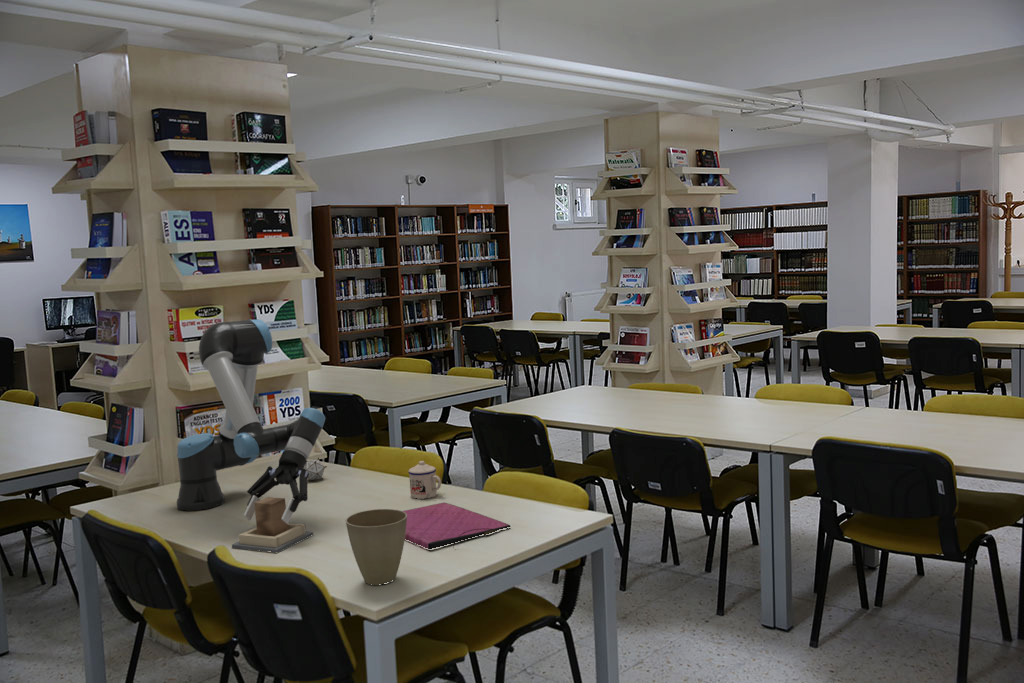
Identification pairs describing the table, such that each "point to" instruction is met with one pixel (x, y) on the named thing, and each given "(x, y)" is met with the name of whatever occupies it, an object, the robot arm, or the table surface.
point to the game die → (314, 469)
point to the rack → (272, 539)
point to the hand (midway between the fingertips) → (265, 519)
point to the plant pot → (377, 543)
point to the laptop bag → (446, 525)
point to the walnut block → (270, 516)
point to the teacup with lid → (423, 481)
